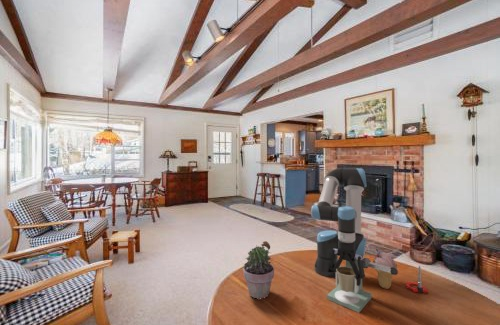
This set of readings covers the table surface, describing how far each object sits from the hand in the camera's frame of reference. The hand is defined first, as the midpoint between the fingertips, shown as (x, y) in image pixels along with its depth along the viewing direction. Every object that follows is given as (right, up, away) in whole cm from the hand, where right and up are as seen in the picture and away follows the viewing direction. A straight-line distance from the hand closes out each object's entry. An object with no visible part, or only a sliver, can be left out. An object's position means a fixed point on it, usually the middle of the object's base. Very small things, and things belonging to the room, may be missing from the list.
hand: (346, 288), depth 114 cm
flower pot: (0, -1, 0) cm, 1 cm away
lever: (+14, +9, -2) cm, 17 cm away
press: (+2, -6, +2) cm, 7 cm away
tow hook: (+40, -6, +10) cm, 41 cm away
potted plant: (-42, -7, +6) cm, 43 cm away
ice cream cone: (+25, -6, +12) cm, 28 cm away
